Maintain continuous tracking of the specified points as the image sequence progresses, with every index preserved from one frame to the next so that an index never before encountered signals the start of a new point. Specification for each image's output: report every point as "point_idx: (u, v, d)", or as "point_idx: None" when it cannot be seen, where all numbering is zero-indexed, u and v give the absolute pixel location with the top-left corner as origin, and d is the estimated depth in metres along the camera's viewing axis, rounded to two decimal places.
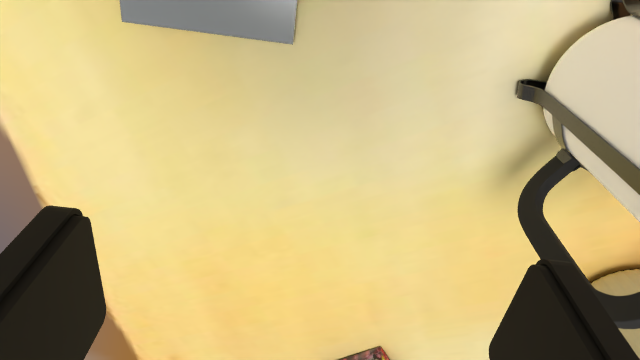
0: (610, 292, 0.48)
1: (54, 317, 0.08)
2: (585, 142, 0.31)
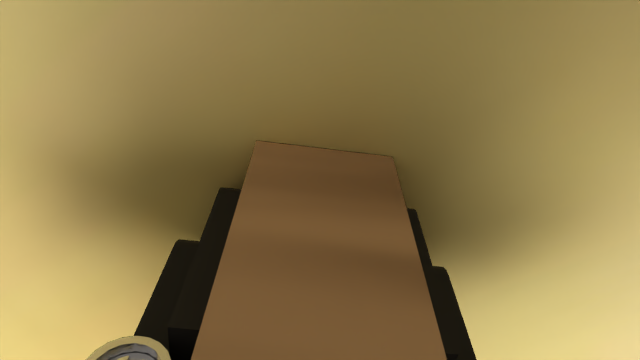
0: None
1: None
2: None
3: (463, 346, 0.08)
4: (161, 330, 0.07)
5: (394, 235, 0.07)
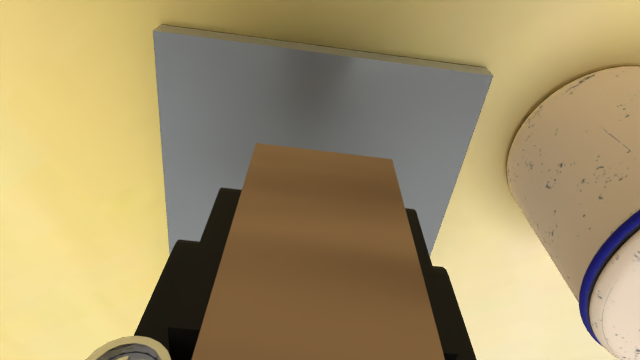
0: None
1: None
2: None
3: (463, 345, 0.08)
4: (161, 330, 0.07)
5: (393, 238, 0.07)
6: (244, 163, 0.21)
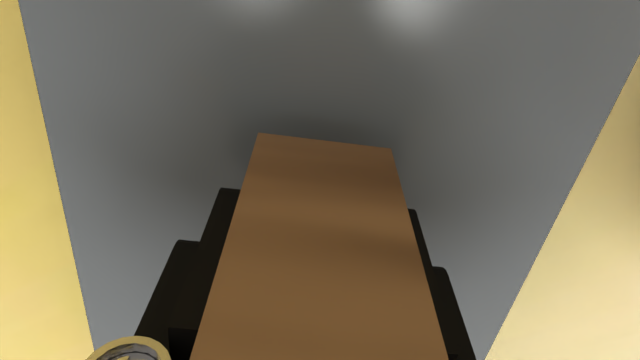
0: None
1: None
2: None
3: (463, 346, 0.08)
4: (161, 330, 0.07)
5: (392, 221, 0.08)
6: (198, 134, 0.11)
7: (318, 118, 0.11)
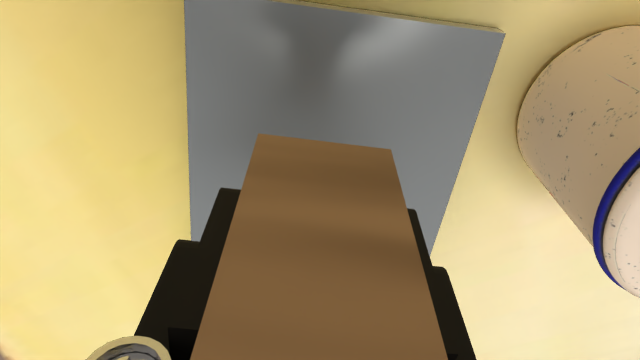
0: None
1: None
2: None
3: (463, 346, 0.08)
4: (161, 330, 0.07)
5: (392, 222, 0.08)
6: (266, 122, 0.22)
7: (329, 114, 0.21)
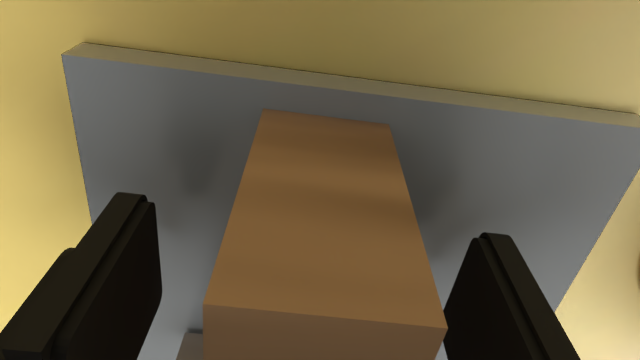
0: None
1: (130, 293, 0.08)
2: None
3: None
4: None
5: (389, 185, 0.08)
6: None
7: None
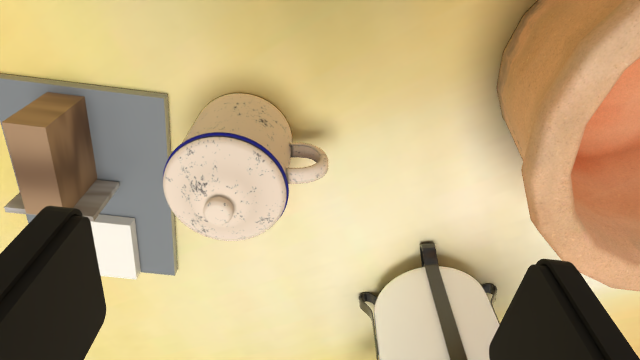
0: None
1: (54, 317, 0.08)
2: None
3: None
4: None
5: (63, 109, 0.34)
6: None
7: None
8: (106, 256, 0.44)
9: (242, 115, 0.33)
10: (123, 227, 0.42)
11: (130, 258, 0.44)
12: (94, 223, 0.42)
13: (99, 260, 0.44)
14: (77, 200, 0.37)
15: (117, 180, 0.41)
